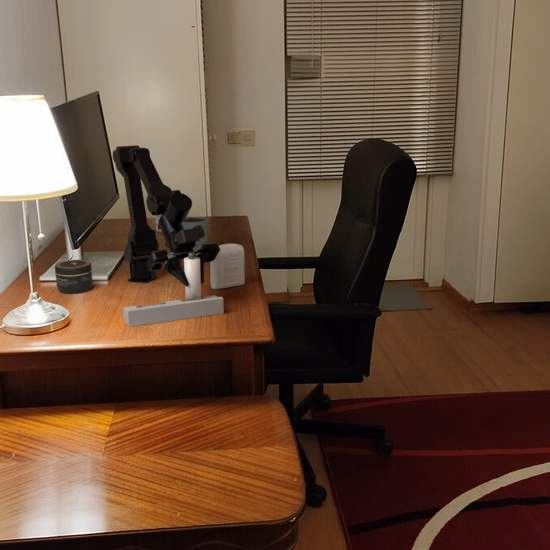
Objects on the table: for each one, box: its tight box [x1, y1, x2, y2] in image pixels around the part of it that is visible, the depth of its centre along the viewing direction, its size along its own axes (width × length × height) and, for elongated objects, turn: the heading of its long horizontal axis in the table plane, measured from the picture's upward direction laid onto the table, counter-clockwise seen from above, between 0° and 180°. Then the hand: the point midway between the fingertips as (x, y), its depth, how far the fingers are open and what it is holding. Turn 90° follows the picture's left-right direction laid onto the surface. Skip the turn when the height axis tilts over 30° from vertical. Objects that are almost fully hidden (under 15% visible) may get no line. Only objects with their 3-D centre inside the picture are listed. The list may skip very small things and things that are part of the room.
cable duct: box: [122, 294, 225, 328], centre depth 172 cm, size 24×6×4 cm, turn 113°
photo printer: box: [209, 243, 246, 290], centre depth 195 cm, size 10×4×12 cm, turn 123°
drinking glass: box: [182, 216, 209, 250], centre depth 232 cm, size 10×10×12 cm
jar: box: [54, 259, 93, 295], centre depth 194 cm, size 10×10×8 cm
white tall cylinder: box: [183, 252, 202, 302], centre depth 174 cm, size 4×4×14 cm
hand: (195, 284), depth 173 cm, fingers closed on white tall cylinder, 4 cm apart
